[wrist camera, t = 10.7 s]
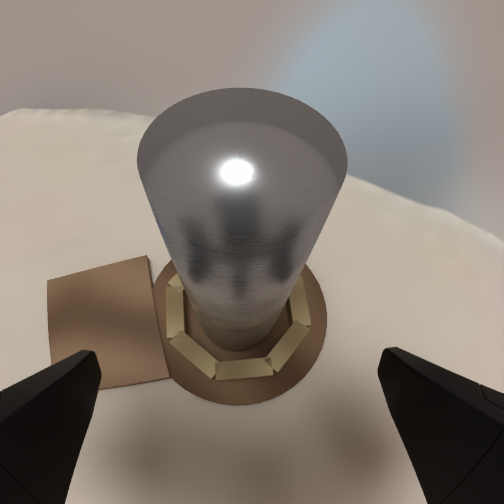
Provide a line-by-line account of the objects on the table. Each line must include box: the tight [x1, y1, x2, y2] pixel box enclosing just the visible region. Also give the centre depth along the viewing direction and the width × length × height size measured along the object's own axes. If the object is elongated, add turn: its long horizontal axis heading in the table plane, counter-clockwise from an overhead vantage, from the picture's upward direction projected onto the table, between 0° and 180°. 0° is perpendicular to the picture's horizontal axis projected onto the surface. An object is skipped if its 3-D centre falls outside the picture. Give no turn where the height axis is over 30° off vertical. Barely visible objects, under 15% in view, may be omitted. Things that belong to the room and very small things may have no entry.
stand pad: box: [47, 255, 171, 390], centre depth 16 cm, size 8×8×1 cm
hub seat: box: [152, 259, 327, 405], centre depth 17 cm, size 11×11×2 cm
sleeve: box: [137, 88, 347, 352], centre depth 12 cm, size 4×4×13 cm
